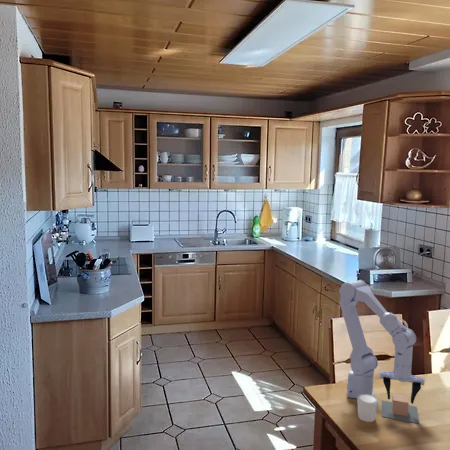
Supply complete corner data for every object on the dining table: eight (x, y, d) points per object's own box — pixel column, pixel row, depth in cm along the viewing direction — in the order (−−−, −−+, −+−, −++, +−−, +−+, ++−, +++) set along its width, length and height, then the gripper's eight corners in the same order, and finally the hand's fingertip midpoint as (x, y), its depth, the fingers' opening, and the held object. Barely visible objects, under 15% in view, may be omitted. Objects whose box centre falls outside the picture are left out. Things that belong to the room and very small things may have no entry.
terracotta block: (392, 413, 153) (393, 400, 152) (391, 406, 157) (392, 393, 157) (407, 416, 151) (408, 402, 150) (406, 409, 156) (407, 396, 155)
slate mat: (382, 416, 151) (382, 416, 151) (381, 400, 162) (381, 400, 162) (419, 423, 147) (419, 423, 147) (416, 407, 158) (416, 406, 158)
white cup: (376, 424, 146) (377, 404, 145) (355, 420, 148) (356, 401, 147) (377, 414, 152) (378, 395, 151) (356, 410, 154) (357, 392, 154)
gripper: (381, 364, 151) (378, 401, 153) (426, 371, 146) (423, 409, 148) (381, 357, 158) (378, 392, 159) (424, 363, 153) (421, 399, 154)
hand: (400, 400), depth 154 cm, fingers open, 7 cm apart
